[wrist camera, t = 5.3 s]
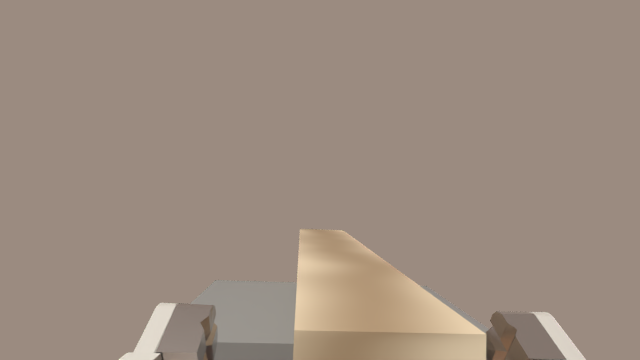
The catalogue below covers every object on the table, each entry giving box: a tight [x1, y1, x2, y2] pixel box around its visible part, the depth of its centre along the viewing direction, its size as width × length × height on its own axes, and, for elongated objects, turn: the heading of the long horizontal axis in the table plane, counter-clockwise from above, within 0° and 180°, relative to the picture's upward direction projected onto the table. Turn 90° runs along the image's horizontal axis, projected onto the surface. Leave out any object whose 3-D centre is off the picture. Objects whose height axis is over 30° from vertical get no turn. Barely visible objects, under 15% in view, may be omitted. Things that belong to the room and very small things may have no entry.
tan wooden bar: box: [293, 229, 486, 360], centre depth 18 cm, size 4×23×4 cm, turn 3°
